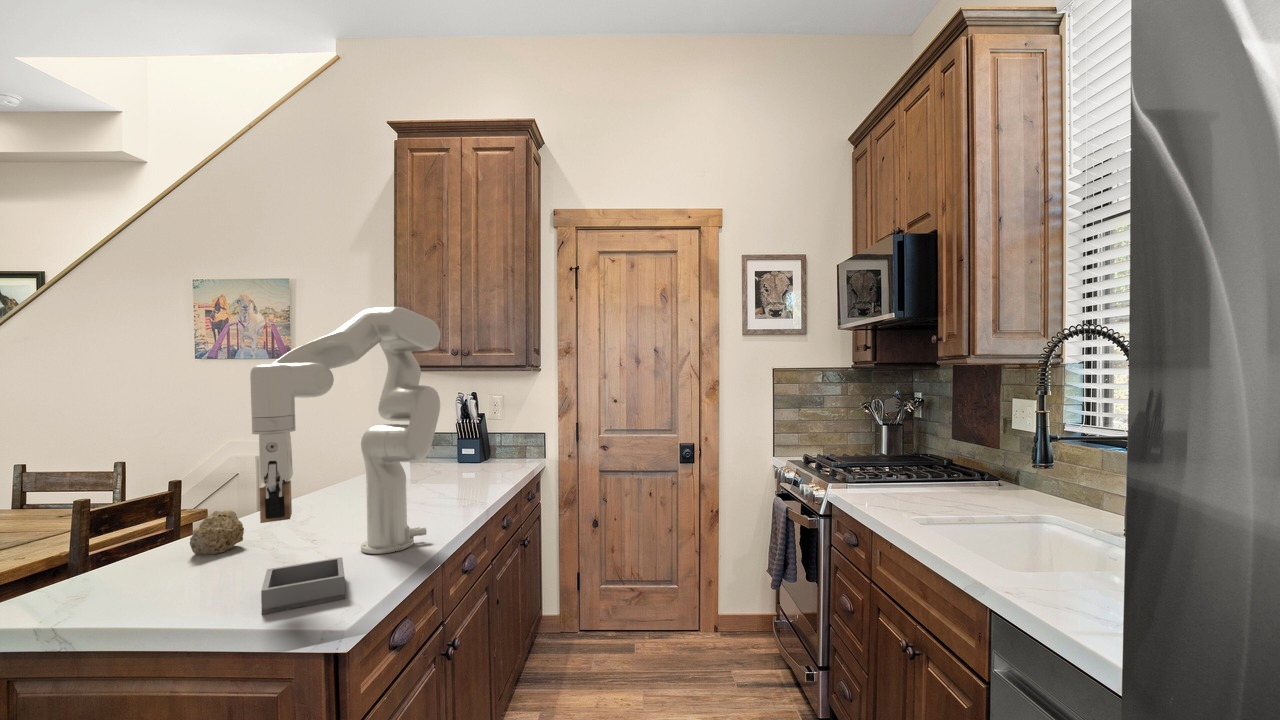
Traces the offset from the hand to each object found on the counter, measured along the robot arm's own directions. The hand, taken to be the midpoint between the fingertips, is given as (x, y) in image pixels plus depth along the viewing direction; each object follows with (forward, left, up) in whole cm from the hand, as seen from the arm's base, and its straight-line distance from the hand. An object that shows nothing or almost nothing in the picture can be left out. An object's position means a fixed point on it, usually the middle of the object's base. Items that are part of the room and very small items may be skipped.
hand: (276, 513), depth 118 cm
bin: (-5, +2, -17) cm, 18 cm away
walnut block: (0, 0, -1) cm, 1 cm away
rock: (+17, -46, -17) cm, 52 cm away
